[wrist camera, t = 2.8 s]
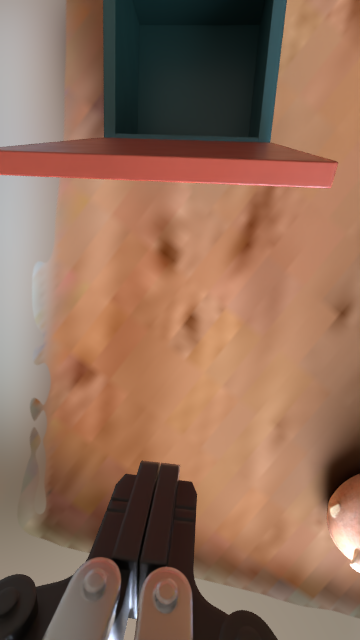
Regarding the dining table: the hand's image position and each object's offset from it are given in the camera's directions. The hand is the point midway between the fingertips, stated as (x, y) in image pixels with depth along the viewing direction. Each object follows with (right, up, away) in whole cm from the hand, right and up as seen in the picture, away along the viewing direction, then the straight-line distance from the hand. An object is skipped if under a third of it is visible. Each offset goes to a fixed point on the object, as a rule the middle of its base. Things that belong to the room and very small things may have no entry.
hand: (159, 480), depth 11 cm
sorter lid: (0, +17, +6) cm, 18 cm away
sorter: (+2, +30, +20) cm, 36 cm away
